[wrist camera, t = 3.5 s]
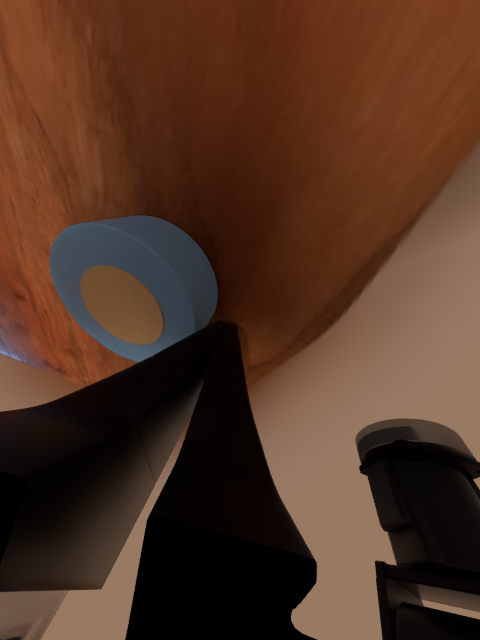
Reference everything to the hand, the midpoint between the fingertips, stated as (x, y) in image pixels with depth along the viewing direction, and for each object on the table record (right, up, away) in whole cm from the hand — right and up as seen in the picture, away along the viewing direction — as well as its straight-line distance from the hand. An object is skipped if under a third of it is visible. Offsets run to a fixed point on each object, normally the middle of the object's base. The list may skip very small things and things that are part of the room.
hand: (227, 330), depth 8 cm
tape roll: (-4, +3, +3) cm, 5 cm away
